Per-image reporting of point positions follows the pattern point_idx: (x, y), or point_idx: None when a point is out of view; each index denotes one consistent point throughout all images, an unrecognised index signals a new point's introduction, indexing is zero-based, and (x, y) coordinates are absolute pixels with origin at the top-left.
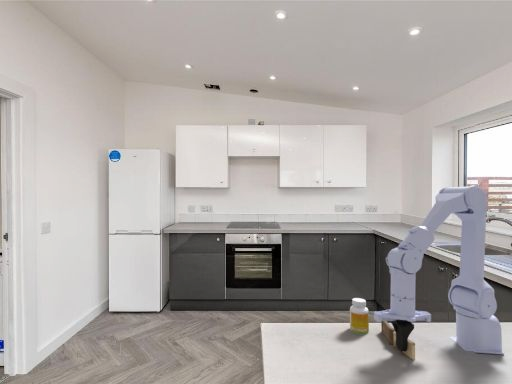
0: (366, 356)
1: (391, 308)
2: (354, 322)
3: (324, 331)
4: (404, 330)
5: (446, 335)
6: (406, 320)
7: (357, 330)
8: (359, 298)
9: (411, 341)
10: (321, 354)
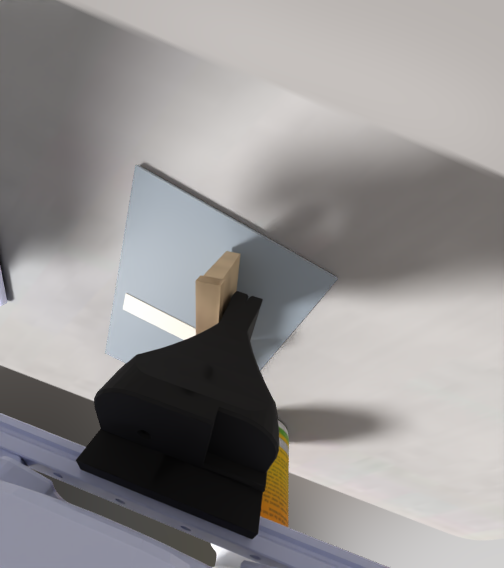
0: (381, 345)
1: None
2: (286, 478)
3: (356, 468)
4: (241, 377)
5: (11, 318)
6: (132, 477)
7: (282, 441)
8: None
9: (200, 303)
10: None
